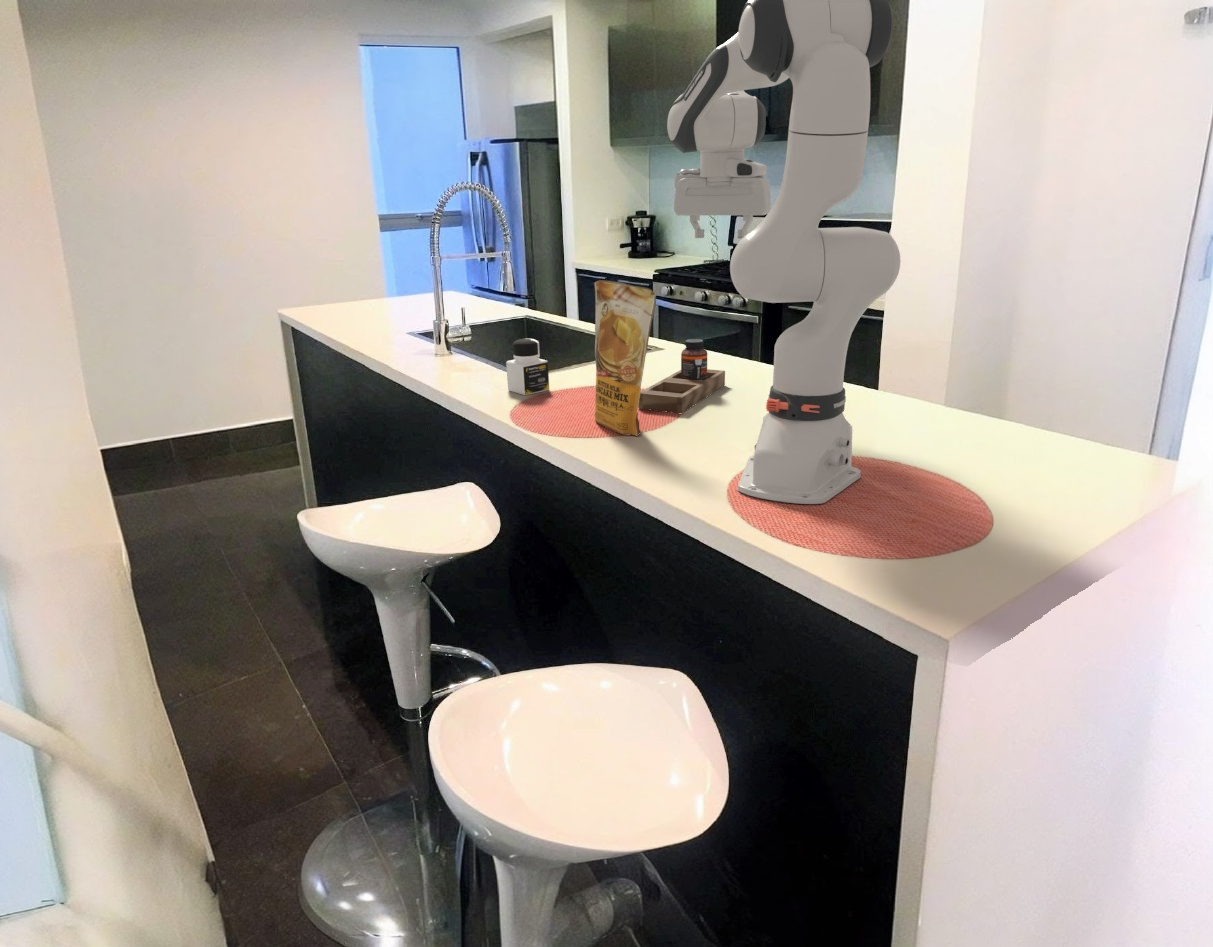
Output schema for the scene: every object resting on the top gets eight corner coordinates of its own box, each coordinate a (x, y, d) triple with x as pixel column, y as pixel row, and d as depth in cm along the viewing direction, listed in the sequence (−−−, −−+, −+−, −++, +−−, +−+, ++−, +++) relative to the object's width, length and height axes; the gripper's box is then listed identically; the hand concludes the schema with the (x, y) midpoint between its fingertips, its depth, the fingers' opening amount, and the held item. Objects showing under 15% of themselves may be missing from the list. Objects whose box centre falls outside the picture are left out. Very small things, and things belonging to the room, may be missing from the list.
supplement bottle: (705, 392, 188) (706, 343, 184) (679, 392, 189) (679, 342, 185) (708, 386, 193) (708, 337, 189) (682, 385, 194) (682, 337, 191)
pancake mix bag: (611, 412, 176) (608, 277, 166) (660, 434, 160) (659, 287, 151) (583, 417, 173) (578, 280, 163) (630, 440, 157) (627, 290, 148)
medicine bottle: (525, 396, 191) (522, 344, 187) (507, 390, 196) (503, 340, 192) (550, 390, 195) (547, 339, 191) (531, 385, 200) (528, 335, 196)
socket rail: (681, 413, 173) (681, 397, 172) (638, 409, 178) (638, 393, 177) (724, 385, 195) (725, 370, 194) (685, 381, 199) (685, 367, 198)
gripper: (668, 169, 171) (669, 238, 176) (765, 166, 162) (762, 239, 167) (680, 168, 177) (680, 236, 181) (774, 166, 167) (772, 237, 172)
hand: (720, 238), depth 174 cm, fingers open, 8 cm apart
